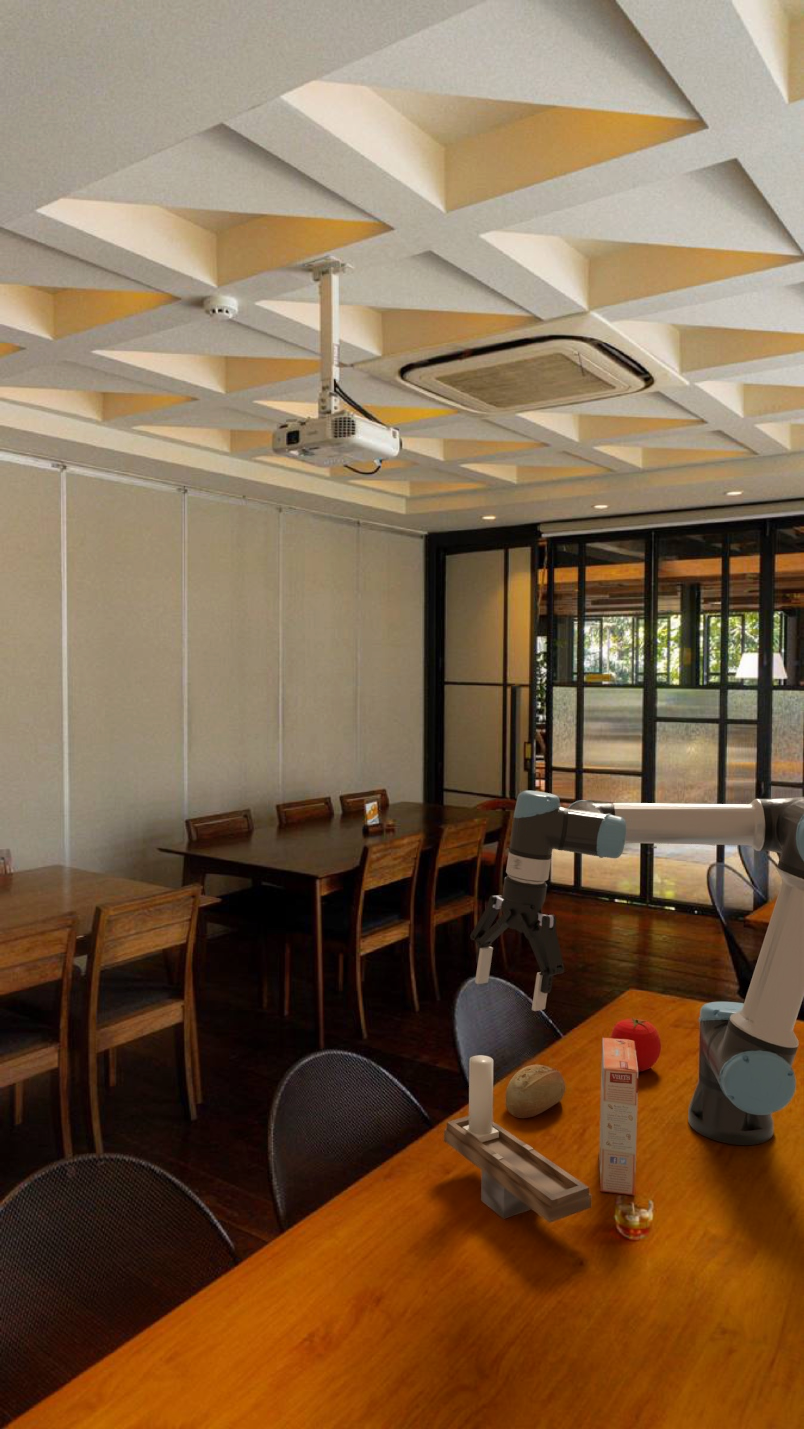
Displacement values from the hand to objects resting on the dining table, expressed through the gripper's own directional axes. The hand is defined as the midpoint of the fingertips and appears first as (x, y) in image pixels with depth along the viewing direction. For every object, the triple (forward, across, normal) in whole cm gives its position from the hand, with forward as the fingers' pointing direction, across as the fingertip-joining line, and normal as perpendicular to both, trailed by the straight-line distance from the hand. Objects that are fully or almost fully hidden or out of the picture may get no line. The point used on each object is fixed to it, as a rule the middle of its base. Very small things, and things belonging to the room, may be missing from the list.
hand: (509, 995), depth 168 cm
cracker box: (+25, +21, +10) cm, 34 cm away
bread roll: (+27, -4, +19) cm, 33 cm away
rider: (+21, +6, -9) cm, 23 cm away
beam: (+27, +15, -10) cm, 33 cm away
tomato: (+24, -3, +49) cm, 55 cm away
